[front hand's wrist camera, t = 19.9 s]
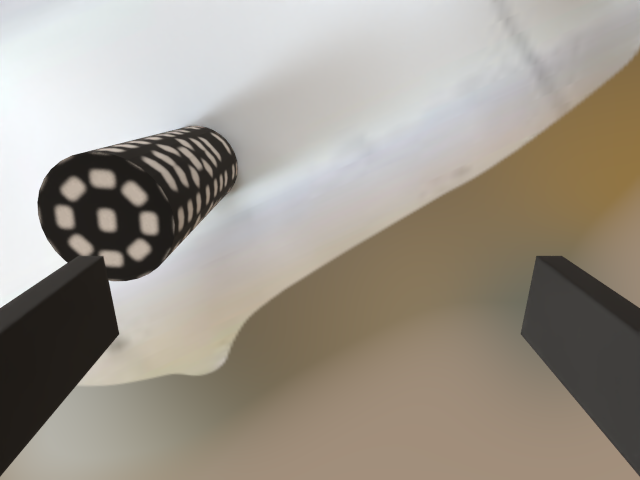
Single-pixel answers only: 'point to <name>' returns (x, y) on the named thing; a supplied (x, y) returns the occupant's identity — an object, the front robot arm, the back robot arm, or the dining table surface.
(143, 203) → the polka dot cylinder
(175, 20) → the dining table surface
